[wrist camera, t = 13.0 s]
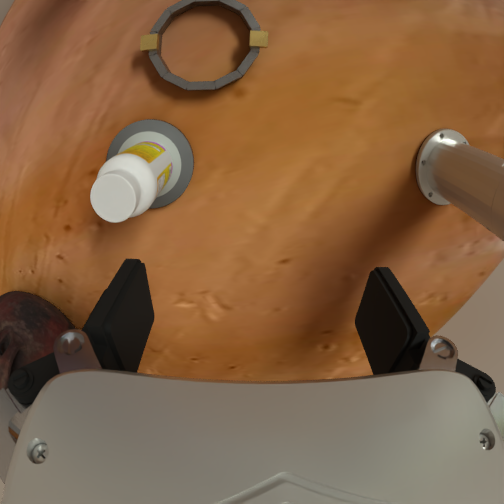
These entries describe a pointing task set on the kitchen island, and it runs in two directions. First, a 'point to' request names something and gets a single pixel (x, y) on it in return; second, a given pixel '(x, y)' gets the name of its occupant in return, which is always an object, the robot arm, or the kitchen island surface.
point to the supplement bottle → (131, 181)
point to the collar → (155, 38)
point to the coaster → (172, 142)
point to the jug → (27, 331)
